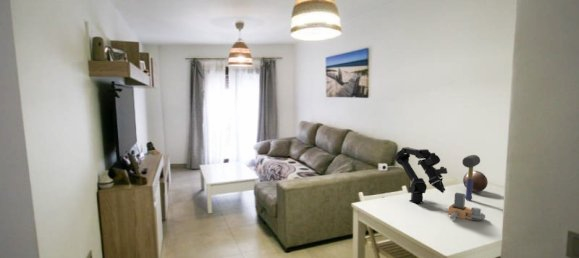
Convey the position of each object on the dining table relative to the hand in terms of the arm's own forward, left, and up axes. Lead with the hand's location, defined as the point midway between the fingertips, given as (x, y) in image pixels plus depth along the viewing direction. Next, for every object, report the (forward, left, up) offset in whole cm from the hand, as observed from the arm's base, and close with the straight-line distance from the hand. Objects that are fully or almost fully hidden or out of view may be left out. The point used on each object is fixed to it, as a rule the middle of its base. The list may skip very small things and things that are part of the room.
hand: (444, 191), depth 182 cm
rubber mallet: (-6, +32, -12) cm, 34 cm away
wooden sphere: (-16, +53, -12) cm, 56 cm away
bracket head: (+14, +1, -12) cm, 18 cm away
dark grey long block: (+8, +3, -12) cm, 15 cm away
